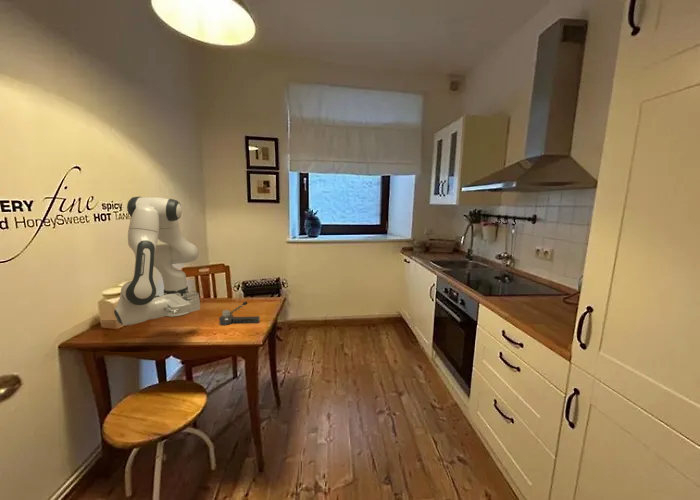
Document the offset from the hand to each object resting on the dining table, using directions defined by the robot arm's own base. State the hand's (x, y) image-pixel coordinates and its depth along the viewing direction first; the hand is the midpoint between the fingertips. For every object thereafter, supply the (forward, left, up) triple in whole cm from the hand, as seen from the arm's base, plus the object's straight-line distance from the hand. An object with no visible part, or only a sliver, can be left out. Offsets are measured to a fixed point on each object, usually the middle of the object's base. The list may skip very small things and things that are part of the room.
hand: (193, 299), depth 146 cm
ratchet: (-1, +20, -17) cm, 26 cm away
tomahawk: (-20, +24, -17) cm, 36 cm away
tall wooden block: (0, -1, -5) cm, 5 cm away
